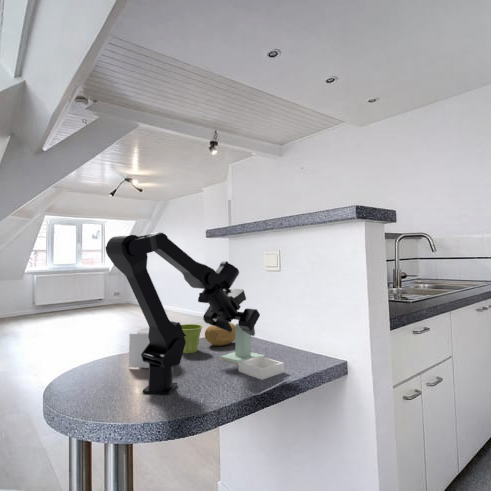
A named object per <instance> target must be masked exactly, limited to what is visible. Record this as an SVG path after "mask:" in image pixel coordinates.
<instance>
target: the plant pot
mask: <svg viewBox="0 0 491 491" xmlns="http://www.w3.org/2000/svg"><path fill="white" fill-rule="evenodd" d="M181 326H182V330H183V332H184V334H185V335H186V336H184V338H185V341H186V345H185V347H184V351H183V354H194V353H197V352H198V349H199V345H200V344H199V343H200V338H201V332H202V329H203V325H201V324H197V323H195V324H194V323H187V324H186V323H185V324H181Z"/></svg>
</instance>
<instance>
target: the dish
mask: <svg viewBox="0 0 491 491" xmlns="http://www.w3.org/2000/svg"><path fill="white" fill-rule="evenodd" d="M238 373H242V374H244V375H247V376H250V377H253V378H255V379H258V380H261V381H263V380H266V379H268V378H271V377H275V376H277V375H281V374H284V373H285V363H284V362H282V361H278V360H275V359H272V358H268V357H266V356H265V357H262V356H259V357H256V358H252V359H248V360H244V361H240V362H239V365H238Z"/></svg>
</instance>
